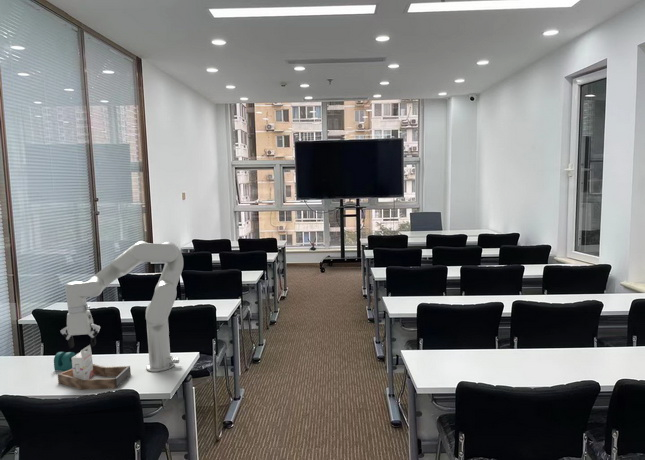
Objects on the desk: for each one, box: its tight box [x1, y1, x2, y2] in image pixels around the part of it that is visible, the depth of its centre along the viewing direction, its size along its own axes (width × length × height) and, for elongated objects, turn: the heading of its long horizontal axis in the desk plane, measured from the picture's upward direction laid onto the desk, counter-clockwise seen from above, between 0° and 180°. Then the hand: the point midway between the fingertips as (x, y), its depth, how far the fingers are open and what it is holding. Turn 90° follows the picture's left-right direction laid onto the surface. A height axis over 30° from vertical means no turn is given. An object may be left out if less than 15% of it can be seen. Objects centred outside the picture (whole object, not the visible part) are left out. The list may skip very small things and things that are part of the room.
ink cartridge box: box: [71, 344, 95, 380], centre depth 205 cm, size 9×5×15 cm, turn 0°
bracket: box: [53, 351, 77, 372], centre depth 225 cm, size 18×7×8 cm, turn 171°
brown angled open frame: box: [57, 363, 132, 391], centre depth 204 cm, size 30×21×4 cm
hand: (82, 346), depth 204 cm, fingers open, 9 cm apart
